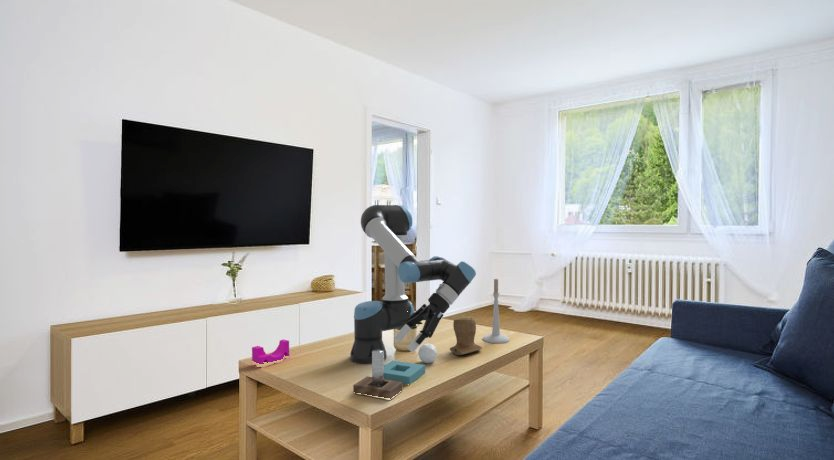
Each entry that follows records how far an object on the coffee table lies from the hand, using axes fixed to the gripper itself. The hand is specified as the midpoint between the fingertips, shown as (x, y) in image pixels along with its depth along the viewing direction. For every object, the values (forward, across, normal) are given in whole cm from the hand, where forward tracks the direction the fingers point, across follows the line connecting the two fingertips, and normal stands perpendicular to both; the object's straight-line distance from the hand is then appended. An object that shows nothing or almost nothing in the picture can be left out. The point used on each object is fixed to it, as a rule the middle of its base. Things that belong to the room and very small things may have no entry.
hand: (402, 345), depth 154 cm
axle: (+17, 0, +4) cm, 18 cm away
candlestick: (-34, -43, +55) cm, 78 cm away
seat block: (+8, -12, +13) cm, 20 cm away
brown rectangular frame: (+17, 0, +4) cm, 17 cm away
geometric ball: (-2, -23, +24) cm, 34 cm away
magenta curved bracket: (+39, -47, -17) cm, 64 cm away
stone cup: (-17, -31, +39) cm, 52 cm away
